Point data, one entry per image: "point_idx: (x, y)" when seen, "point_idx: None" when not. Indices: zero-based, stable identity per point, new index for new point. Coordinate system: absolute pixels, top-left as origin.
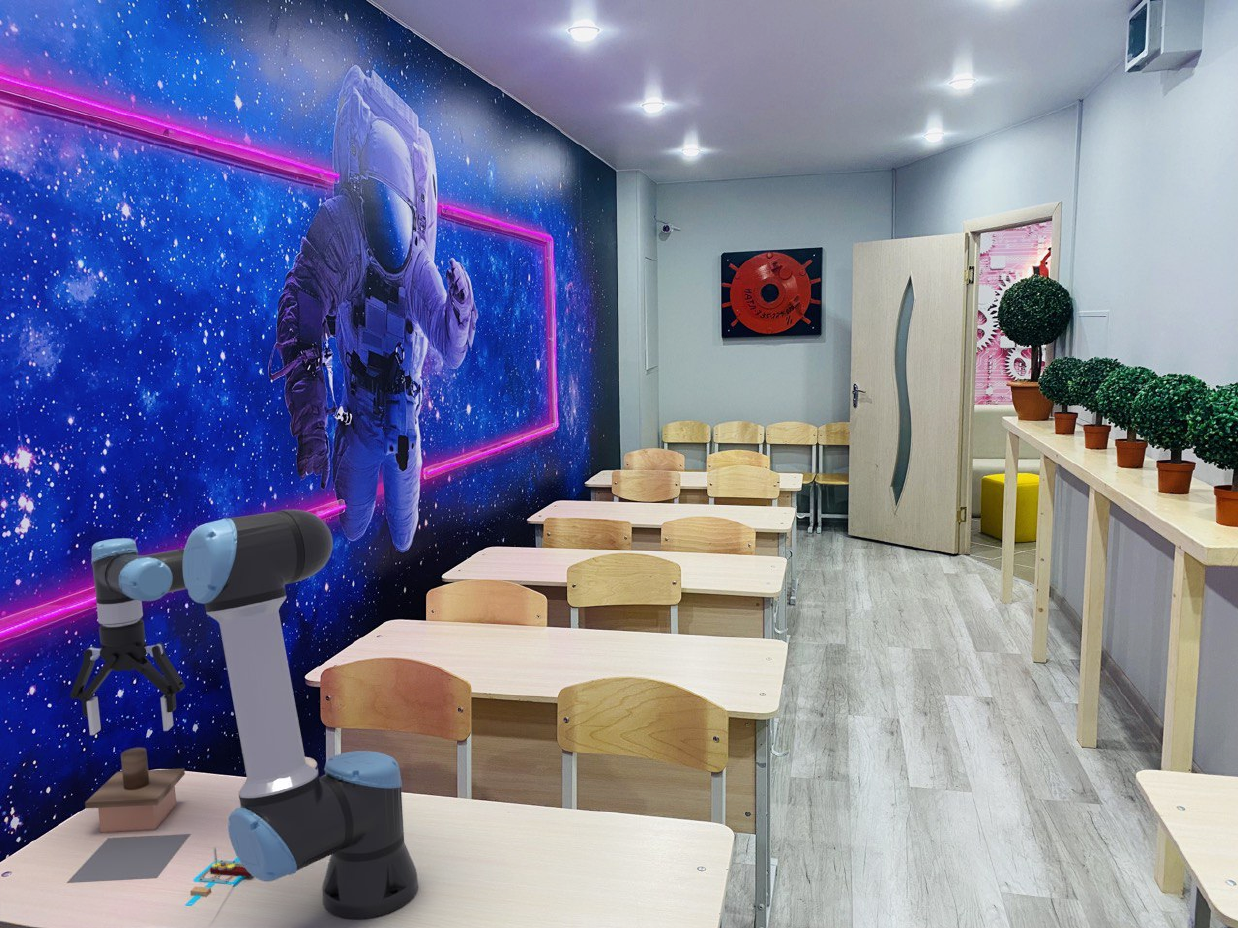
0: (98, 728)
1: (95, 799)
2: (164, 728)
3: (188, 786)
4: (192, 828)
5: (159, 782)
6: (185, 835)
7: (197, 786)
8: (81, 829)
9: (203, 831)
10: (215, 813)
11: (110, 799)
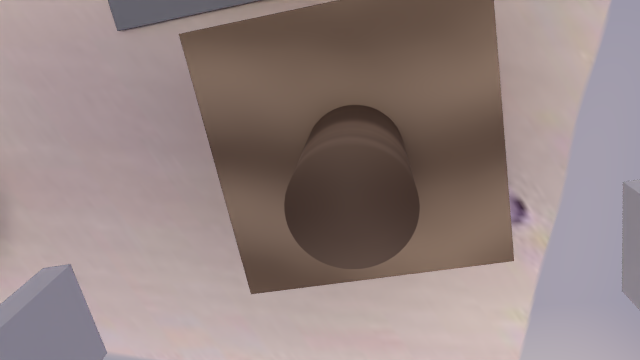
0: (634, 269)
1: (456, 1)
2: (51, 274)
3: (336, 325)
4: (152, 80)
5: (271, 178)
6: (127, 18)
7: (309, 325)
8: (526, 43)
9: (105, 64)
10: (146, 175)
11: (383, 7)
